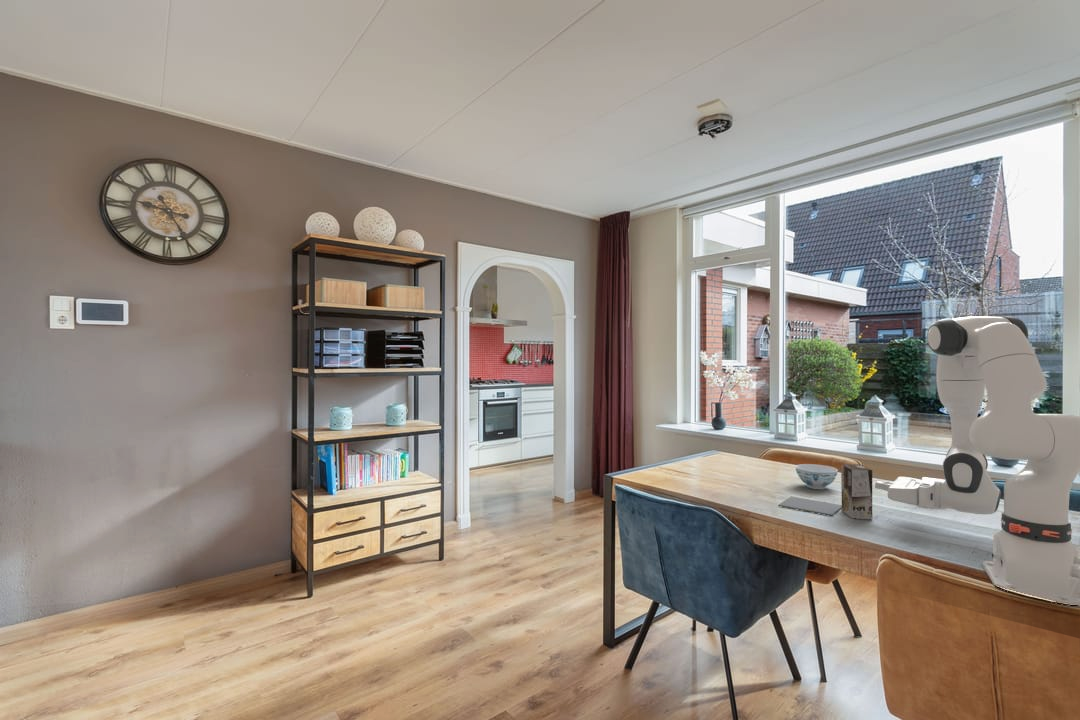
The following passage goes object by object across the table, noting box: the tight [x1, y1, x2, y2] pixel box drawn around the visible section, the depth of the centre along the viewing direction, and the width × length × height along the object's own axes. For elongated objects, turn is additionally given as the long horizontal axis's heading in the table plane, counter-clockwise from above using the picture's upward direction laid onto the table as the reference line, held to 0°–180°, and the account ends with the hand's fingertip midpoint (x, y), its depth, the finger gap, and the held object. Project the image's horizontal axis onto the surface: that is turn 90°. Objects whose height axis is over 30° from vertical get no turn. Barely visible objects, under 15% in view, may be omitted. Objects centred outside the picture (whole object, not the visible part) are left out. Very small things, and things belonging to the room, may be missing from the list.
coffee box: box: [840, 463, 873, 520], centre depth 169 cm, size 9×6×16 cm
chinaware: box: [795, 463, 839, 490], centre depth 204 cm, size 15×15×8 cm
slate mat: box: [777, 496, 842, 517], centre depth 178 cm, size 14×17×1 cm
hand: (875, 484), depth 165 cm, fingers closed
